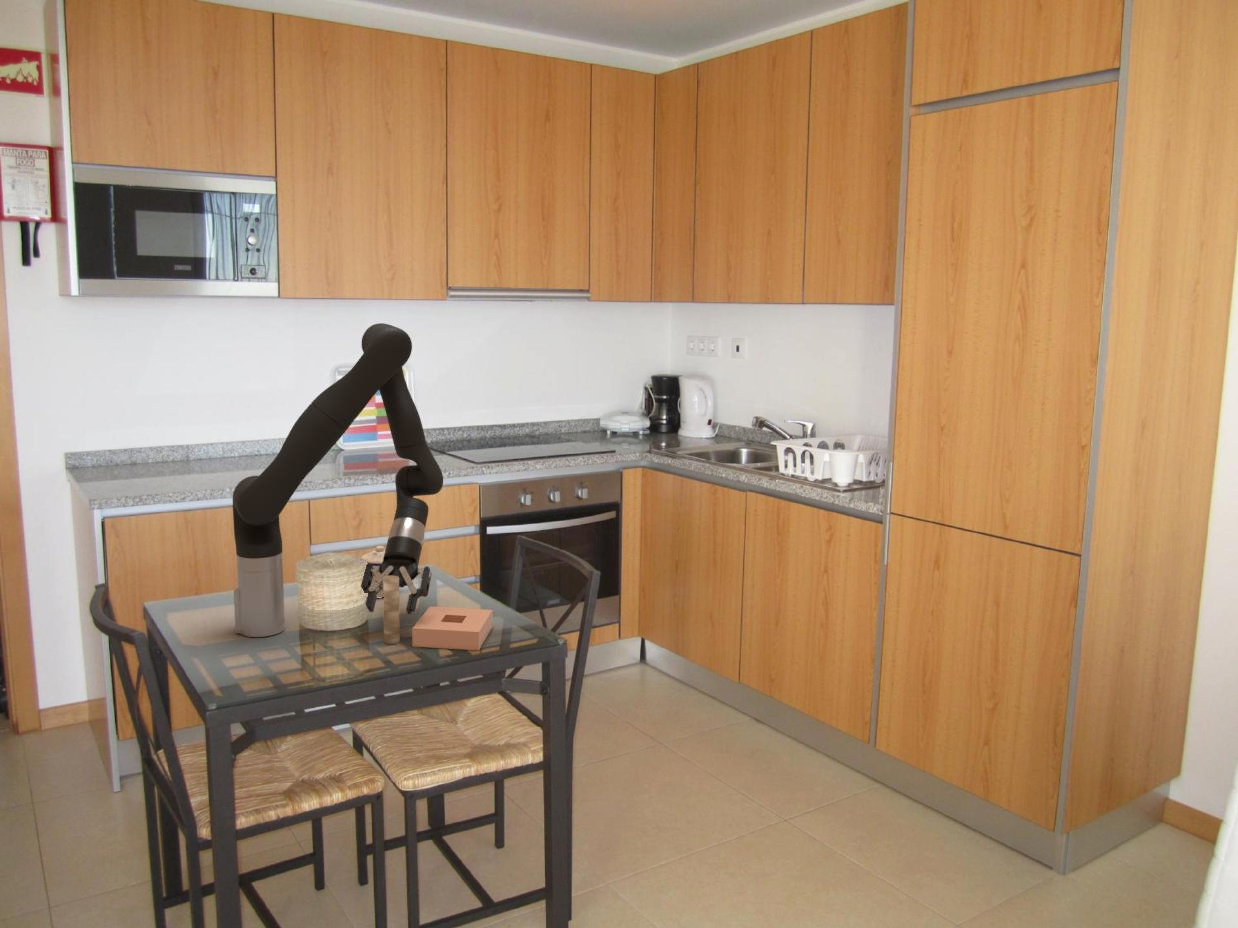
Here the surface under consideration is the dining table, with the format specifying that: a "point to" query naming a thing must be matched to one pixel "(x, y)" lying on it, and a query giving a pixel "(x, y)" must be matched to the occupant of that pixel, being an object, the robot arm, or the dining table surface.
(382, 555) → the tan lidded jar
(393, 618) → the peg
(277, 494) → the robot arm
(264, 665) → the dining table surface
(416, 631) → the socket block
